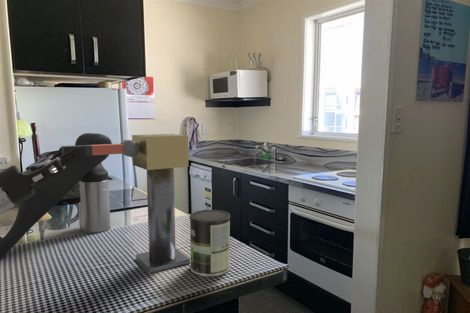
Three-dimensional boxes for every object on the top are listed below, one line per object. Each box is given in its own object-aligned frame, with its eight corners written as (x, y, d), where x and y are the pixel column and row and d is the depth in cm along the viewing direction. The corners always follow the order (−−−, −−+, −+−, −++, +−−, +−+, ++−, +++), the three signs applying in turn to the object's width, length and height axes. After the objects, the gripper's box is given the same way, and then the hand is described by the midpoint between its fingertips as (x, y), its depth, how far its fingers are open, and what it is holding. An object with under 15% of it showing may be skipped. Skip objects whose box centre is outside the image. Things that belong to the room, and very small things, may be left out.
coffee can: (189, 277, 85) (188, 221, 83) (191, 260, 95) (190, 209, 94) (231, 276, 86) (231, 220, 84) (229, 259, 96) (228, 209, 94)
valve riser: (150, 273, 87) (146, 136, 84) (136, 258, 96) (131, 134, 93) (190, 263, 93) (188, 135, 90) (173, 250, 103) (170, 133, 99)
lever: (134, 155, 90) (134, 139, 90) (140, 156, 87) (139, 140, 86) (61, 159, 81) (60, 142, 80) (64, 161, 77) (63, 143, 77)
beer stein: (97, 199, 167) (95, 146, 165) (58, 207, 151) (55, 150, 148) (76, 195, 176) (74, 145, 173) (37, 202, 160) (34, 148, 157)
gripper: (13, 200, 80) (79, 162, 87) (15, 213, 68) (91, 168, 75) (-8, 172, 77) (61, 136, 84) (-10, 181, 65) (71, 137, 73)
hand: (75, 151), depth 80 cm, fingers open, 8 cm apart
